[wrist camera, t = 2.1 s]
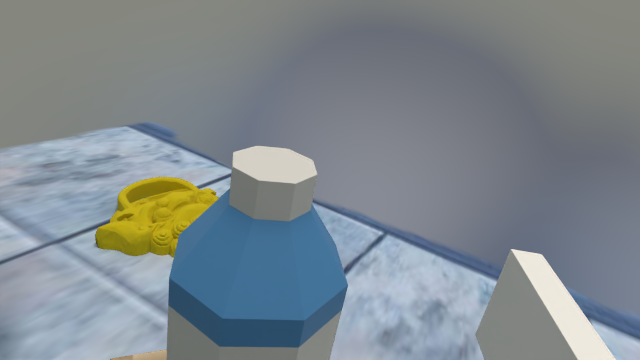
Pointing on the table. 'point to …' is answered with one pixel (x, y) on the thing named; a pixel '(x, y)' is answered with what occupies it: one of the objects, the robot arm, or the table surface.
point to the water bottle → (257, 269)
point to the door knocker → (153, 216)
